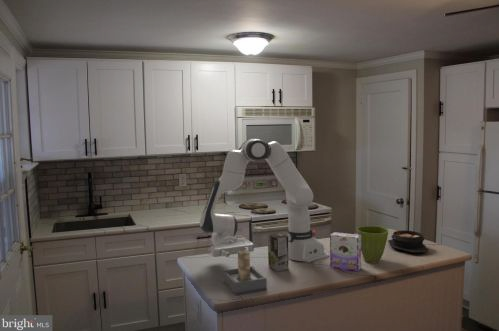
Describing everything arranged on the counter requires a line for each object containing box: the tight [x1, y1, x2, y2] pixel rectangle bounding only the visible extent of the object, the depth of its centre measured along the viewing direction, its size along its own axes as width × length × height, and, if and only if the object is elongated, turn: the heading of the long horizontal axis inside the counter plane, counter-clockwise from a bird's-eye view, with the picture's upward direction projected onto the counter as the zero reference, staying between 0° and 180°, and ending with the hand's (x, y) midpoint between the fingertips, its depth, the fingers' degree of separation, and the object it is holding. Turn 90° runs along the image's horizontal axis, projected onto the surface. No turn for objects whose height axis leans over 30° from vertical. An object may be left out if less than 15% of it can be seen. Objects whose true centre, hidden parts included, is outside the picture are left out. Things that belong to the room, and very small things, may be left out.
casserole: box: [387, 230, 430, 254], centre depth 224 cm, size 25×19×8 cm
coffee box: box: [267, 232, 290, 272], centre depth 199 cm, size 9×6×16 cm
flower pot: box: [356, 225, 389, 264], centre depth 206 cm, size 15×15×16 cm
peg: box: [237, 250, 251, 282], centre depth 177 cm, size 4×4×14 cm
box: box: [222, 265, 268, 296], centre depth 178 cm, size 14×16×5 cm
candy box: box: [329, 231, 362, 272], centre depth 196 cm, size 14×6×16 cm, turn 59°
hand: (237, 253), depth 184 cm, fingers open, 8 cm apart
